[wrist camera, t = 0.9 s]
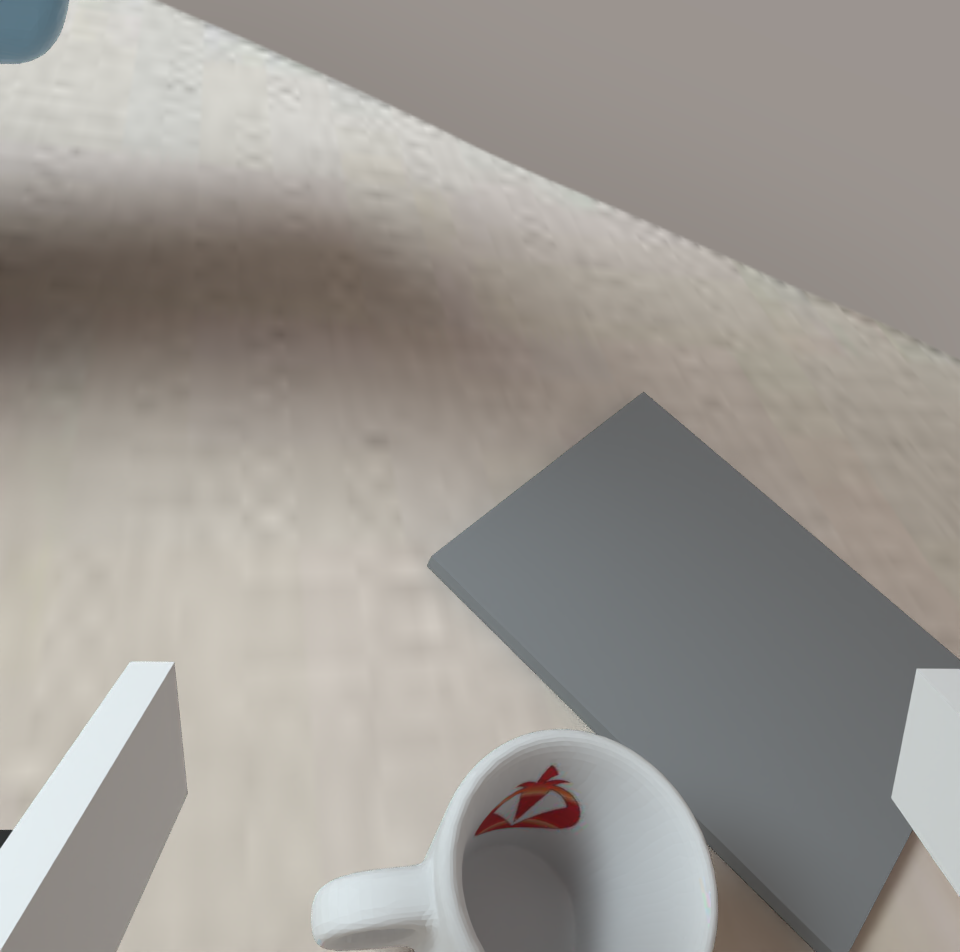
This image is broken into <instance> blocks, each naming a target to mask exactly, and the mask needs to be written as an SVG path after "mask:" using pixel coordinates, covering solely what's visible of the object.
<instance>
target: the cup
mask: <svg viewBox="0 0 960 952" xmlns="http://www.w3.org/2000/svg"><path fill="white" fill-rule="evenodd" d="M717 922H718V892H717V885H716V878H715V871H714V867H713V864H712V860H711V856H710V852H709V849H708V846H707V844H706V841H705V838H704V836H703V833H702V831H701V829H700V827H699V825H698V823H697V821H696V819H695V817H694V815H693V813H692V812H691V810H690V808H689V807H688V805H687V804H686V802H685V801H684V799H683V798H682V796H681V795H680V794H679V792H678V791H677V790H676V789H675V787H674V786H673V785H672V784H671V783H670V782H669V781H668V780H667V778H666V777H665V776H664V775H663V774H662V773H661V772H660V771H659V770H657V769H656V768H655V767H654V766H653V765H652V764H651V763H649V762H648V761H647V760H645V759H644V758H643V757H642V756H640V755H639V754H637V753H636V752H634V751H632V750H631V749H629V748H627V747H625V746H624V745H622V744H620V743H618V742H615V741H613V740H611V739H608V738H606V737H603V736H600V735H596V734H593V733H589V732H584V731H577V730H570V729H553V730H542V731H537V732H532V733H529V734H526V735H522V736H519V737H517V738H515V739H513V740H510V741H508V742H506V743H505V744H503V745H501V746H499V747H498V748H496V749H495V750H493V751H492V752H490V753H489V754H488V755H486V756H485V757H484V758H483V759H482V760H481V761H479V762H478V763H477V764H476V766H475V767H474V768H473V769H472V770H471V771H470V772H469V773H468V774H467V776H466V777H465V778H464V780H463V781H462V783H461V784H460V785H459V787H458V789H457V790H456V792H455V794H454V795H453V797H452V799H451V801H450V803H449V805H448V808H447V810H446V812H445V814H444V817H443V819H442V821H441V823H440V825H439V828H438V830H437V832H436V834H435V836H434V839H433V841H432V843H431V845H430V848H429V850H428V852H427V854H426V856H425V859H424V861H423V862H422V863H421V864H417V865H412V866H406V867H395V868H384V869H376V870H369V871H363V872H357V873H353V874H349V875H345V876H342V877H339V878H336V879H334V880H332V881H330V882H328V883H327V884H326V885H324V886H323V887H322V888H320V890H319V891H318V892H317V893H316V895H315V898H314V901H313V904H312V915H311V924H312V933H313V936H314V940H315V941H316V943H317V944H318V945H319V946H321V947H323V948H325V949H328V950H335V951H346V950H367V949H379V948H386V947H399V946H405V947H410V948H412V949H413V950H414V952H713V949H714V944H715V938H716V932H717Z"/></svg>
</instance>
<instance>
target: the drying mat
mask: <svg viewBox="0 0 960 952" xmlns="http://www.w3.org/2000/svg"><path fill="white" fill-rule="evenodd" d="M427 566H428V567H429V568H430V569H431V570H432V571H433V572H434V573H435V574H436V575H437V576H438V577H439V578H440V579H441V580H442V581H443V582H444V583H445V584H446V585H447V586H448V587H449V588H450V589H451V590H452V591H453V592H454V593H455V594H456V595H457V596H458V597H459V598H460V599H461V600H462V601H463V602H464V603H465V604H466V605H467V606H468V607H469V608H470V609H471V610H472V611H473V612H474V613H475V614H476V615H477V616H478V617H479V618H480V619H481V620H482V621H483V622H484V623H485V624H486V625H487V626H488V627H489V628H490V629H491V630H492V631H493V632H494V633H495V634H496V635H497V636H498V637H499V638H500V639H501V640H502V641H503V642H504V643H505V644H506V645H507V646H508V647H509V648H510V649H511V650H512V651H513V652H514V653H515V654H516V655H517V656H518V657H519V658H520V659H521V660H522V661H523V662H524V663H525V664H526V665H527V666H528V667H529V668H530V669H531V670H532V671H533V672H534V673H535V674H536V675H538V676H539V677H540V678H541V679H542V680H543V681H544V682H545V683H546V684H547V685H548V686H549V687H550V688H551V689H552V690H553V691H554V692H555V693H556V694H557V695H558V696H559V697H560V698H561V699H562V700H563V701H564V702H565V703H566V704H567V705H568V706H569V707H570V708H571V709H572V710H573V711H574V712H575V713H576V714H577V715H578V716H579V717H580V718H581V719H582V720H583V721H584V722H585V723H586V724H587V725H588V726H589V727H590V728H591V729H592V730H593V731H594V732H595V733H596V734H597V735H600V736H603V737H606V738H608V739H611V740H613V741H615V742H618V743H620V744H622V745H624V746H625V747H627V748H629V749H631V750H632V751H634V752H636V753H637V754H639V755H640V756H642V757H643V758H644V759H645V760H647V761H648V762H649V763H651V764H652V765H653V766H654V767H655V768H656V769H657V770H659V771H660V772H661V773H662V774H663V775H664V776H665V777H666V778H667V780H668V781H669V782H670V783H671V784H672V785H673V786H674V787H675V789H676V790H677V791H678V792H679V794H680V795H681V796H682V798H683V799H684V801H685V802H686V804H687V805H688V807H689V808H690V810H691V812H692V813H693V815H694V817H695V819H696V821H697V823H698V825H699V827H700V829H701V831H702V833H703V836H704V838H705V841H706V843H707V844H708V845H709V846H710V847H711V848H712V849H713V850H714V851H715V852H716V853H717V854H718V855H719V856H720V857H721V858H722V859H723V860H724V861H725V862H726V863H727V864H728V865H729V866H730V867H731V868H732V869H733V870H734V871H735V872H736V873H737V874H738V875H739V876H740V877H741V878H742V879H743V880H744V881H745V882H746V883H747V884H748V885H749V886H750V887H751V888H752V889H753V890H754V891H755V892H756V893H757V894H758V895H759V896H760V897H761V898H762V899H763V900H764V901H765V902H766V903H767V904H768V905H769V906H770V907H771V908H772V909H773V910H774V911H775V912H776V913H777V914H778V915H779V916H781V917H782V918H783V919H784V920H785V921H786V922H787V923H788V924H789V925H790V926H791V927H792V928H793V929H794V930H795V931H796V932H797V933H798V934H799V935H800V936H801V937H802V938H803V939H804V940H805V941H806V942H807V943H808V944H809V945H810V946H811V947H812V948H813V949H814V950H815V951H816V952H849V951H850V949H851V947H852V945H853V943H854V941H855V939H856V938H857V936H858V934H859V932H860V930H861V928H862V926H863V924H864V922H865V920H866V918H867V916H868V914H869V913H870V911H871V909H872V907H873V905H874V903H875V901H876V899H877V897H878V895H879V893H880V891H881V889H882V888H883V886H884V884H885V882H886V880H887V878H888V876H889V874H890V872H891V870H892V868H893V866H894V864H895V863H896V861H897V859H898V857H899V855H900V853H901V851H902V849H903V847H904V845H905V843H906V841H907V839H908V838H909V836H910V834H911V832H912V830H913V829H912V827H911V826H910V824H909V823H908V822H907V820H906V819H905V817H904V816H903V814H902V813H901V811H900V810H899V809H898V807H897V806H896V804H895V803H894V801H893V800H892V798H891V796H892V791H893V786H894V781H895V776H896V771H897V766H898V760H899V755H900V750H901V745H902V740H903V735H904V730H905V725H906V720H907V715H908V710H909V705H910V699H911V694H912V689H913V684H914V679H915V674H916V669H960V660H959V659H958V658H957V657H956V656H955V655H954V654H952V653H951V652H950V651H949V650H948V649H946V648H945V647H944V646H943V645H942V644H941V643H939V642H938V641H937V640H936V639H935V638H933V637H932V636H931V635H930V634H929V633H928V632H926V631H925V630H924V629H923V628H922V627H921V626H919V625H918V624H917V623H916V622H915V621H913V620H912V619H911V618H910V617H909V616H908V615H906V614H905V613H904V612H903V611H902V610H900V609H899V608H898V607H897V606H896V605H895V604H893V603H892V602H891V601H890V600H889V599H887V598H886V597H885V596H884V595H883V594H882V593H880V592H879V591H878V590H877V589H876V588H875V587H873V586H872V585H871V584H870V583H869V582H867V581H866V580H865V579H864V578H863V577H862V576H860V575H859V574H858V573H857V572H856V571H854V570H853V569H852V568H851V567H850V566H849V565H847V564H846V563H845V562H844V561H843V560H841V559H840V558H839V557H838V556H837V555H836V554H834V553H833V552H832V551H831V550H830V549H829V548H827V547H826V546H825V545H824V544H823V543H821V542H820V541H819V540H818V539H817V538H816V537H814V536H813V535H812V534H811V533H810V532H808V531H807V530H806V529H805V528H804V527H803V526H801V525H800V524H799V523H798V522H797V521H795V520H794V519H793V518H792V517H791V516H790V515H788V514H787V513H786V512H785V511H784V510H783V509H781V508H780V507H779V506H778V505H777V504H775V503H774V502H773V501H772V500H771V499H770V498H768V497H767V496H766V495H765V494H764V493H762V492H761V491H760V490H759V489H758V488H757V487H755V486H754V485H753V484H752V483H751V482H750V481H748V480H747V479H746V478H745V477H744V476H742V475H741V474H740V473H739V472H738V471H737V470H735V469H734V468H733V467H732V466H731V465H729V464H728V463H727V462H726V461H725V460H724V459H722V458H721V457H720V456H719V455H718V454H716V453H715V452H714V451H713V450H712V449H711V448H709V447H708V446H707V445H706V444H705V443H704V442H702V441H701V440H700V439H699V438H698V437H696V436H695V435H694V434H693V433H692V432H691V431H689V430H688V429H687V428H686V427H685V426H683V425H682V424H681V423H680V422H679V421H678V420H676V419H675V418H674V417H673V416H672V415H670V414H669V413H668V412H667V411H666V410H665V409H663V408H662V407H661V406H660V405H659V404H658V403H656V402H655V401H654V400H653V399H652V398H650V397H649V396H648V395H647V394H646V393H645V392H643V393H641V394H640V395H639V396H637V397H636V398H635V399H634V400H632V401H631V402H630V403H628V404H627V405H626V406H625V407H623V408H622V409H621V410H619V411H618V412H617V413H615V414H614V415H613V416H612V417H610V418H609V419H608V420H606V421H605V422H604V423H603V424H601V425H600V426H599V427H597V428H596V429H595V430H594V431H592V432H591V433H590V434H588V435H587V436H586V437H585V438H583V439H582V440H581V441H579V442H578V443H577V444H576V445H574V446H573V447H572V448H570V449H569V450H568V451H566V452H565V453H564V454H563V455H561V456H560V457H559V458H557V459H556V460H555V461H554V462H552V463H551V464H550V465H548V466H547V467H546V468H545V469H543V470H542V471H541V472H539V473H538V474H537V475H536V476H534V477H533V478H532V479H530V480H529V481H528V482H526V483H525V484H524V485H523V486H521V487H520V488H519V489H517V490H516V491H515V492H514V493H512V494H511V495H510V496H508V497H507V498H506V499H505V500H503V501H502V502H501V503H499V504H498V505H497V506H496V507H494V508H493V509H492V510H490V511H489V512H488V513H487V514H485V515H484V516H483V517H481V518H480V519H479V520H477V521H476V522H475V523H474V524H472V525H471V526H470V527H468V528H467V529H466V530H465V531H463V532H462V533H461V534H459V535H458V536H457V537H456V538H454V539H453V540H452V541H450V542H449V543H448V544H447V545H445V546H444V547H443V548H441V549H440V550H439V551H438V552H436V553H435V554H434V555H432V556H431V558H430V560H429V563H428V565H427Z"/></svg>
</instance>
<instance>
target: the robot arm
mask: <svg viewBox="0 0 960 952" xmlns="http://www.w3.org/2000/svg"><path fill="white" fill-rule="evenodd" d="M68 4H69V0H0V64H20V63H25V62H28V61H32V60H34V59H36V58H38V57H40V56H42V55H43V54H45V53H46V52H47V51H48V50H49V49H50V48H51V47H52V46H53V44H54V43H55V42H56V40H57V38H58V37H59V35H60V33H61V30H62V28H63V25H64V22H65V18H66V14H67V10H68ZM187 794H188V791H187V782H186V772H185V762H184V752H183V742H182V732H181V722H180V712H179V702H178V692H177V682H176V672H175V662H130V663H129V664H128V666H127V667H126V669H125V670H124V671H123V673H122V674H121V676H120V677H119V679H118V680H117V682H116V683H115V684H114V686H113V687H112V689H111V690H110V692H109V693H108V694H107V696H106V697H105V699H104V700H103V702H102V703H101V705H100V706H99V707H98V709H97V710H96V712H95V713H94V715H93V716H92V717H91V719H90V720H89V722H88V723H87V725H86V726H85V728H84V729H83V730H82V732H81V733H80V735H79V736H78V738H77V739H76V740H75V742H74V743H73V745H72V746H71V748H70V749H69V751H68V752H67V753H66V755H65V756H64V758H63V759H62V761H61V762H60V764H59V765H58V766H57V768H56V769H55V771H54V772H53V774H52V775H51V776H50V778H49V779H48V781H47V782H46V784H45V785H44V787H43V788H42V789H41V791H40V792H39V794H38V795H37V797H36V798H35V799H34V801H33V802H32V804H31V805H30V807H29V808H28V810H27V811H26V812H25V814H24V815H23V817H22V818H21V820H20V821H19V822H18V824H17V825H16V827H15V828H14V830H0V952H116V951H117V949H118V947H119V945H120V942H121V940H122V938H123V936H124V934H125V931H126V929H127V927H128V925H129V923H130V920H131V918H132V916H133V914H134V911H135V909H136V907H137V905H138V903H139V900H140V898H141V896H142V894H143V892H144V889H145V887H146V885H147V883H148V881H149V878H150V876H151V874H152V872H153V869H154V867H155V865H156V863H157V861H158V858H159V856H160V854H161V852H162V850H163V847H164V845H165V843H166V841H167V839H168V836H169V834H170V832H171V830H172V827H173V825H174V823H175V821H176V819H177V816H178V814H179V812H180V810H181V808H182V805H183V803H184V801H185V799H186V796H187ZM891 798H892V800H893V801H894V803H895V804H896V806H897V807H898V809H899V810H900V811H901V813H902V814H903V816H904V817H905V819H906V820H907V822H908V823H909V824H910V826H911V827H912V829H913V830H914V832H915V833H916V835H917V836H918V838H919V839H920V840H921V842H922V843H923V845H924V846H925V848H926V849H927V851H928V852H929V854H930V855H931V856H932V858H933V859H934V861H935V862H936V864H937V865H938V867H939V868H940V870H941V871H942V872H943V874H944V875H945V877H946V878H947V880H948V881H949V883H950V884H951V885H952V887H953V888H954V890H955V891H956V893H957V894H958V896H959V897H960V669H916V674H915V679H914V684H913V689H912V694H911V699H910V705H909V710H908V715H907V720H906V725H905V730H904V735H903V740H902V745H901V750H900V755H899V760H898V766H897V771H896V776H895V781H894V786H893V791H892V796H891Z"/></svg>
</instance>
